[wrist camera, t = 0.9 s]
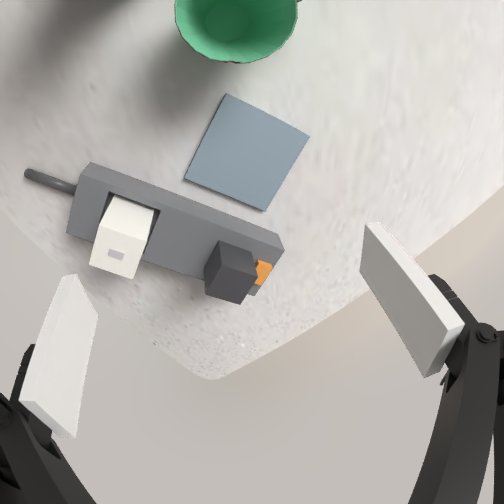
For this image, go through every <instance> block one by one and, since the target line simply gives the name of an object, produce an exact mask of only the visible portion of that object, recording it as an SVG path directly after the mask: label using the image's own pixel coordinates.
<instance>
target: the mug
mask: <svg viewBox="0 0 504 504" xmlns="http://www.w3.org/2000/svg"><path fill="white" fill-rule="evenodd" d="M299 1H302V0H176V2H175V22H176V25H177V27H178V29H179V32H180V34H181V36H182V38H183V39H184V40H185V41H186V42H187V43H188V44H189V45H190V46H191V48H192V49H193V50H194V51H196V52H198V53H200V54H201V55H203V56H205V57H207V58H208V59H210V60H215V61H220V62H225V63H227V62H233V63H250V62H253V61H256V60H260V59H263V58H266V57H268V56H269V55H271V54H272V53H274V52H275V51H277V50H278V49H280V48H281V47H282V46H283V45H284V43H285V42H286V41H287V40H288V38H289V37H290V36H291V35H292V33H293V30H294V27H295V24H296V21H297V18H298V17H297V2H299Z"/></svg>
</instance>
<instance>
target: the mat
mask: <svg viewBox="0 0 504 504" xmlns="http://www.w3.org/2000/svg"><path fill="white" fill-rule="evenodd" d="M309 138H310V136H309V135H307V134H305V133H303V132H302V131H300V130H298V129H296V128H294V127H292V126H291V125H289V124H287V123H285V122H283V121H281V120H279V119H277V118H276V117H274V116H272V115H270V114H268V113H266V112H264V111H262V110H260V109H258V108H256V107H254V106H252V105H250V104H248V103H246V102H244V101H242V100H239V99H237V98H235V97H233V96H231V95H229V94H227V93H226V95H225V96H224V98H223V100H222V102H221V104H220V106H219V108H218V110H217V112H216V114H215V115H214V117H213V119H212V121H211V123H210V125H209V127H208V129H207V131H206V133H205V135H204V137H203V139H202V141H201V143H200V145H199V147H198V149H197V151H196V153H195V155H194V158H193V160H192V162H191V164H190V166H189V168H188V170H187V172H186V174H185V177H184V178H185V179H188V180H190V181H193V182H195V183H198V184H200V185H203V186H205V187H208V188H210V189H212V190H215V191H217V192H220V193H222V194H225V195H227V196H230V197H232V198H234V199H237V200H239V201H242V202H244V203H246V204H249V205H251V206H254V207H256V208H258V209H261V210H263V211H266V210H267V208H268V206H269V204H270V203H271V201H272V199H273V198H274V196H275V194H276V193H277V191H278V189H279V188H280V186H281V184H282V183H283V181H284V179H285V178H286V176H287V174H288V173H289V171H290V169H291V168H292V166H293V164H294V163H295V161H296V159H297V158H298V156H299V154H300V153H301V151H302V149H303V148H304V146H305V144H306V143H307V141H308V139H309Z"/></svg>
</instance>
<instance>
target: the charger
mask: <svg viewBox="0 0 504 504" xmlns="http://www.w3.org/2000/svg"><path fill="white" fill-rule="evenodd" d="M154 209H155V208H153V207H151V206H148V205H145V204H142V203H140V202H137V201H134V200H132V199H129V198H126V197H123V196H121V195H118V194H115V195H114V197H113V199H112V201H111V203H110V205H109V206H108V208H107V210H106V212H105V214H104V216H103V218H102V220H101V222H100V224H99V227H98V231H97V235H96V238H95V242H94V246H93V250H92V254H91V258H90V262H89V265H92V266H94V267H97V268H100V269H103V270H106V271H109V272H112V273H115V274H117V275H120V276H123V277H126V278H129V279H132V280H133V278H134V275H135V272H136V269H137V267H138V264H139V261H140V258H141V256H142V253H143V250H144V248H145V245H146V243H147V239H148V234H149V230H150V226H151V221H152V217H153V213H154Z"/></svg>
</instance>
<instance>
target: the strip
mask: <svg viewBox="0 0 504 504" xmlns="http://www.w3.org/2000/svg"><path fill="white" fill-rule="evenodd" d="M24 176H25V177H26V178H28V179H31V180H34V181H36V182H39V183H42V184H45V185H47V186H50V187H53V188H55V189H58V190H61V191H63V192H66V193H69V194H72V195H74V200H73V204H72V208H71V212H70V217H69V221H68V226H67V231H66V233H68V234H71V235H73V236H76V237H79V238H82V239H84V240H87V241H90V242H93V243H94V242H95V238H96V235H97V231H98V227H99V224H100V222H101V220H102V218H103V216H104V214H105V212H106V210H107V208H108V206H109V205H110V203H111V201H112V199H113V197H114V195H115V194H118V195H121V196H123V197H126V198H129V199H132V200H134V201H137V202H140V203H142V204H145V205H148V206H151V207H153V208H155V209H154V213H153V217H152V221H151V226H150V230H149V234H148V239H147V243H146V245H145V248H144V250H143V253H142V256H141V258H140V259H141V260H144V261H147V262H150V263H153V264H156V265H159V266H162V267H165V268H168V269H171V270H174V271H177V272H180V273H183V274H186V275H189V276H192V277H195V278H198V279H201V280H204V281H205V294H206V295H209V296H212V297H216V298H219V299H222V300H226V301H229V302H233V303H236V304H239V305H240V304H241V303H242V301H243V300H244V298H245V297H246V295H247V294H249V295H252V296H255V294H256V293H257V291H258V290H259V289H260V287H261V286H262V284H263V283H264V281H265V280H266V278H267V277H268V275H269V274H270V272H271V271H272V269H273V268H274V266H275V264H276V263H277V261H278V260H279V258H280V257H281V255H282V254H283V252H284V251H285V250H284V248H283V245H282V243H281V241H280V238H279V236H278V234H276V233H274V232H271V231H269V230H266V229H264V228H261V227H259V226H256V225H254V224H251V223H249V222H246V221H244V220H241V219H239V218H236V217H234V216H231V215H229V214H226V213H224V212H221V211H219V210H216V209H213V208H211V207H208V206H206V205H203V204H201V203H198V202H196V201H193V200H190V199H188V198H185V197H183V196H180V195H177V194H175V193H172V192H170V191H167V190H164V189H162V188H159V187H156V186H154V185H151V184H148V183H146V182H143V181H140V180H138V179H135V178H132V177H130V176H127V175H124V174H122V173H119V172H116V171H114V170H111V169H108V168H105V167H103V166H100V165H97V164H94V163H92V162H90V164H89V165H88V166H87V167H86V168H85V169H84V170H83V171H82V172H81V174H80V177H79V180H78V184H77V186H76V185H73V184H70V183H67V182H65V181H62V180H59V179H56V178H54V177H51V176H48V175H45V174H43V173H40V172H37V171H34V170H32V169H26V170H25V172H24Z"/></svg>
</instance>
